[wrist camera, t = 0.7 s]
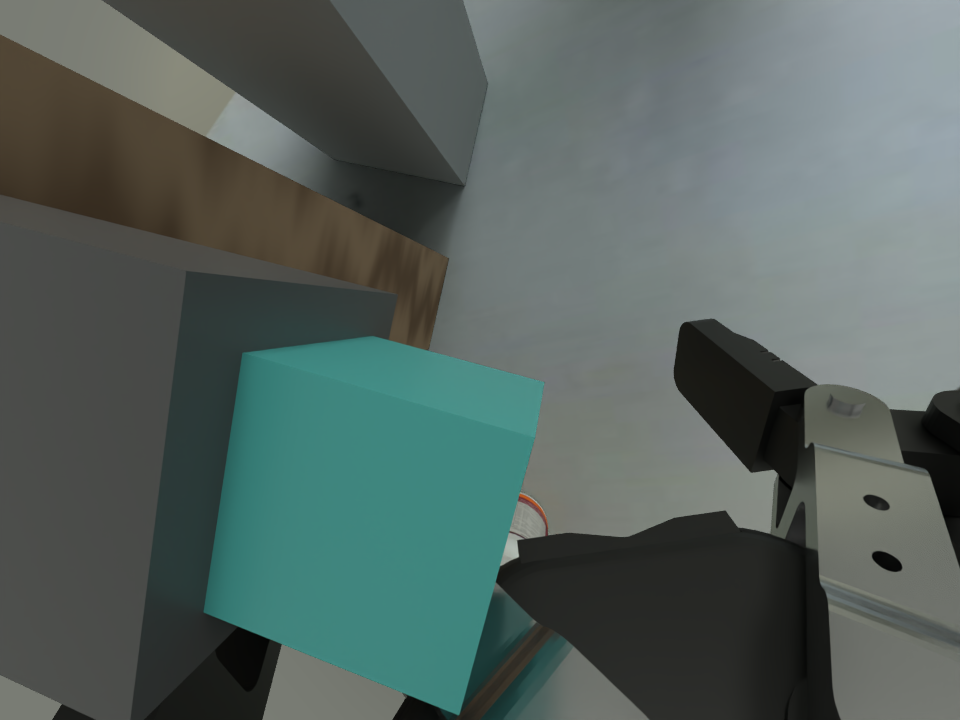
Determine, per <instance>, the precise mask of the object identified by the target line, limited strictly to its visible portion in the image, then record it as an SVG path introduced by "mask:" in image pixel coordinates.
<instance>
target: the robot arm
mask: <svg viewBox="0 0 960 720" xmlns="http://www.w3.org/2000/svg"><path fill="white" fill-rule="evenodd" d="M674 379H675V383H676V386H677V388H678V390H679V391H680V393H681V394H682V395H683V396H684V397H685V398H686V399H687V400H688V402H689V403H690V404H691V405H692V406H693V407H694V408H695V410H696V411H697V412H698V413H699V414H700V415H701V416H702V418H703V419H704V420H705V421H706V422H707V423H708V424H709V425H710V427H711V428H712V429H713V430H714V431H715V432H716V433H717V435H718V436H719V437H720V438H721V439H722V440H723V441H724V442H725V444H726V445H727V446H728V447H729V448H730V449H731V450H732V452H733V453H734V454H735V455H736V456H737V457H738V458H739V460H740V461H741V462H742V463H743V464H744V465H745V466H746V467H747V469H748V470H749V471H750V472H751V473H753V472H760V471H767V470H775V471H776V472H777V473H778V474H777V477H776V480H775V483H774V490H773V505H772V520H771V534H768V533H764V532H760V531H756V530H750V529H745V528H738V527H737V526H736V524H735V523H734V522H733V520H732V519H731V518H730V516H729V515H728V513H727V512H726V511H719V512H712V513H705V514H698V515H691V516H684V517H677V518H673V519H670V520H668V521H666V522H663V523H661V524H658V525H656V526H654V527H651V528H649V529H647V530H644V531H642V532H639V533H637V534H635V535H632V536H629V537H612V536H600V535H589V534H577V533H563V534H556V535H549V536H542V537H535V538H528V539H521V540H517V545H518V554H519V557H517V558H515V559H513V560H510V561H508V562H507V563H505V564H503V565H502V566H500V568H499V571H498V575H497V579H496V582H495V586H494V590H493V593H492V597H491V601H490V604H489V608H488V612H487V615H486V619H485V623H484V626H483V630H482V634H481V637H480V641H479V645H478V648H477V652H476V656H475V659H474V663H473V667H472V670H471V674H470V678H469V681H468V685H467V689H466V692H465V696H464V700H463V703H462V707H461V711H460V714H459V715H457V714H454V713H452V712H449V711H447V710H444V709H442V708H439V707H437V706H434V705H432V704H429V703H427V702H424V701H422V700H419V699H417V698H414V697H412V696H409V695H407V694H404V693H403V695H404V696H405V698H406V699H405V700H404V702H403V703H402V705H401V707H400V708H399V710H398V712H397V713H396V715H395V716H394V718H393V720H960V391H943V392H940V393H937V394H936V395H934V397H933V398H932V400H931V402H930V404H929V406H928V408H927V410H926V411H909V410H892V409H889V408H888V407H887V405H886V404H885V403H884V402H882V401H881V400H880V399H878V398H877V397H875V396H873V395H871V394H869V393H866V392H864V391H861V390H858V389H855V388H851V387H847V386H841V385H831V384H824V385H817V384H816V383H814V382H813V381H812V380H810V379H809V378H807V377H806V376H804V375H803V374H801V373H800V372H799V371H797V370H796V369H794V368H793V367H791V366H790V365H789V364H787V363H786V362H784V361H783V360H782V361H780V358H779V357H777V356H776V355H774V354H773V353H771V352H768V350H767V349H766V348H764V347H763V346H761V345H760V344H758V343H757V342H756V341H754V340H752V339H749V338H747V337H744V336H741V335H739V334H736V333H733V332H732V331H731V330H729V329H728V328H726V327H725V326H724V325H722V324H721V323H719V322H718V321H717V320H715V319H705V320H698V321H690V322H685V323H683V324H682V325H681V327H680V331H679V337H678V344H677V351H676V358H675V365H674ZM281 645H282V644H281V643H278V642H276V641H273V640H271V639H268V638H266V637H263V636H261V635H258V634H256V633H253V632H251V631H248V630H246V629H243V628H241V627H237V628H236V629H235V630H234V631H233V632H232V633H231V634H230V635H229V636H228V637H227V638H226V639H225V640H224V641H223V642H222V643H221V644H220V645H219V646H218V647H217V648H216V649H215V650H214V651H213V652H212V653H211V654H210V655H209V656H208V657H207V658H206V659H205V660H204V661H203V662H202V663H201V664H200V665H199V666H198V667H197V668H196V669H195V670H194V671H193V672H192V673H191V674H190V675H189V676H188V677H187V678H186V679H185V680H184V681H183V682H182V683H181V684H180V685H179V686H178V687H177V688H175V689H174V690H173V691H172V692H171V693H170V694H169V695H168V696H167V697H166V698H165V699H164V700H163V701H162V702H161V703H160V704H159V705H158V706H157V707H156V708H155V709H154V710H153V711H152V712H151V713H150V714H149V715H148V716H147V717H146V718H145V719H144V720H262V719H263V715H264V711H265V707H266V703H267V699H268V695H269V691H270V688H271V683H272V679H273V676H274V672H275V668H276V664H277V660H278V656H279V652H280V649H281ZM52 720H95V719H93V718H91V717H89V716H87V715H85V714H83V713H80V712H78V711H76V710H74V709H72V708H70V707H68V706H65V705H63V704H62V705H61V706H60V708H59V710H58V711H57V713H56V715H55V716H54V718H53V719H52Z"/></svg>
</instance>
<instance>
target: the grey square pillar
mask: <svg viewBox="0 0 960 720" xmlns="http://www.w3.org/2000/svg"><path fill="white" fill-rule="evenodd" d="M103 1H104V2H106V3H107V4H109V5H110V6H111V7H113V8H114V9H116V10H117V11H119V12H120V13H122V14H123V15H124V16H126V17H128V18H129V19H130V20H132V21H133V22H135V23H136V24H138V25H139V26H140V27H142V28H143V29H145V30H146V31H148V32H149V33H151V34H152V35H154V36H155V37H157V38H158V39H159V40H161V41H163V42H164V43H165V44H167V45H168V46H170V47H171V48H173V49H174V50H176V51H177V52H178V53H180V54H181V55H183V56H184V57H186V58H187V59H189V60H190V61H191V62H193V63H195V64H196V65H197V66H199V67H200V68H202V69H203V70H205V71H206V72H207V73H209V74H210V75H212V76H213V77H215V78H216V79H218V80H219V81H221V82H222V83H224V84H225V85H226V86H228V87H230V88H231V89H232V90H234V91H235V92H237V93H238V94H240V95H241V96H242V97H244V98H245V99H247V100H248V101H250V102H251V103H253V104H254V105H256V106H257V107H258V108H260V109H261V110H263V111H264V112H266V113H267V114H269V115H270V116H272V117H273V118H275V119H276V120H277V121H279V122H280V123H282V124H283V125H285V126H286V127H288V128H289V129H291V130H292V131H293V132H295V133H296V134H298V135H299V136H301V137H302V138H304V139H305V140H307V141H308V142H310V143H311V144H312V145H314V146H315V147H317V148H318V149H320V150H321V151H323V152H324V153H326V154H327V155H328V156H330V157H331V158H333V159H335V160H340V161H345V162H350V163H354V164H359V165H364V166H369V167H374V168H379V169H384V170H389V171H394V172H398V173H403V174H408V175H413V176H418V177H423V178H428V179H433V180H438V181H443V182H447V183H452V184H457V185H462V186H465V184H466V179H467V175H468V170H469V166H470V161H471V157H472V152H473V148H474V143H475V139H476V134H477V130H478V125H479V121H480V116H481V112H482V107H483V103H484V98H485V94H486V89H487V85H488V82H487V79H486V76H485V72H484V69H483V66H482V62H481V59H480V56H479V53H478V49H477V46H476V43H475V39H474V36H473V33H472V29H471V26H470V23H469V19H468V16H467V13H466V9H465V6H464V3H463V0H103Z"/></svg>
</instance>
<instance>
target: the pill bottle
mask: <svg viewBox="0 0 960 720" xmlns="http://www.w3.org/2000/svg"><path fill="white" fill-rule="evenodd" d="M542 536H548V523H547V518H546V515H545V512H544V510H543V509H542V507H541V506H540V505H539V504H538V502H537V501H536V500H534V499H533V498H532V497H530V496H529V495H527V494H525V493H522V492H520V494H519V498H518V502H517V505H516V509H515V513H514V516H513V520H512V524H511V527H510V531H509V535H508V538H507V542H506V546H505V549H504V553H503V557H502V560H501V564H500V566H502V565H503V564H505V563H507V562H508V561H510V560H513V559H515V558H517V557H519V554H518V545H517V540H521V539H528V538H535V537H542Z"/></svg>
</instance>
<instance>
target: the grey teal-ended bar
mask: <svg viewBox="0 0 960 720" xmlns="http://www.w3.org/2000/svg"><path fill="white" fill-rule="evenodd" d="M397 297H398V294H394V293H390V292H386V291H382V290H378V289H374V288H370V287H366V286H362V285H358V284H354V283H350V282H346V281H342V280H338V279H334V278H330V277H326V276H322V275H318V274H314V273H311V272H307V271H303V270H299V269H295V268H291V267H287V266H283V265H279V264H275V263H271V262H267V261H263V260H259V259H255V258H251V257H247V256H243V255H239V254H235V253H231V252H227V251H223V250H219V249H215V248H211V247H207V246H203V245H199V244H195V243H191V242H187V241H183V240H179V239H175V238H171V237H167V236H163V235H159V234H155V233H151V232H147V231H143V230H139V229H135V228H131V227H127V226H123V225H119V224H115V223H111V222H107V221H103V220H99V219H95V218H91V217H87V216H83V215H79V214H75V213H71V212H67V211H64V210H60V209H56V208H52V207H48V206H44V205H40V204H36V203H32V202H28V201H24V200H20V199H16V198H12V197H8V196H4V195H0V675H2V676H4V677H6V678H8V679H10V680H12V681H14V682H16V683H19V684H21V685H23V686H25V687H27V688H29V689H31V690H33V691H36V692H38V693H40V694H42V695H44V696H46V697H48V698H51V699H53V700H55V701H57V702H59V703H61V704H63V705H65V706H68V707H70V708H72V709H74V710H76V711H78V712H80V713H83V714H85V715H87V716H89V717H91V718H93V719H95V720H144V719H145V718H146V717H147V716H148V715H149V714H150V713H151V712H152V711H153V710H154V709H155V708H156V707H157V706H158V705H159V704H160V703H161V702H162V701H163V700H164V699H165V698H166V697H167V696H168V695H169V694H170V693H171V692H172V691H173V690H174V689H175V688H177V687H178V686H179V685H180V684H181V683H182V682H183V681H184V680H185V679H186V678H187V677H188V676H189V675H190V674H191V673H192V672H193V671H194V670H195V669H196V668H197V667H198V666H199V665H200V664H201V663H202V662H203V661H204V660H205V659H206V658H207V657H208V656H209V655H210V654H211V653H212V652H213V651H214V650H215V649H216V648H217V647H218V646H219V645H220V644H221V643H222V642H223V641H224V640H225V639H226V638H227V637H228V636H229V635H230V634H231V633H232V632H233V631H234V630H235V629H236V628H237V627H241V628H243V629H246V630H248V631H251V632H253V633H256V634H258V635H261V636H263V637H266V638H268V639H271V640H273V641H276V642H278V643H281V644H283V645H285V646H288V647H291V648H293V649H295V650H298V651H300V652H303V653H305V654H308V655H310V656H313V657H315V658H318V659H320V660H323V661H326V662H328V663H330V664H333V665H335V666H338V667H340V668H343V669H345V670H347V671H350V672H352V673H355V674H357V675H360V676H362V677H365V678H367V679H370V680H372V681H375V682H377V683H380V684H382V685H385V686H387V687H390V688H392V689H395V690H397V691H399V692H402V693H404V694H407V695H409V696H412V697H414V698H417V699H419V700H422V701H424V702H427V703H429V704H432V705H434V706H437V707H439V708H442V709H444V710H447V711H449V712H452V713H454V714H457V715H459V714H460V711H461V707H462V703H463V700H464V696H465V692H466V689H467V685H468V681H469V678H470V674H471V670H472V667H473V663H474V659H475V656H476V652H477V648H478V645H479V641H480V637H481V634H482V630H483V626H484V623H485V619H486V615H487V612H488V608H489V604H490V601H491V597H492V593H493V590H494V586H495V582H496V579H497V575H498V571H499V568H500V564H501V560H502V557H503V553H504V549H505V546H506V542H507V538H508V535H509V531H510V527H511V524H512V520H513V516H514V513H515V509H516V505H517V502H518V498H519V494H520V491H521V487H522V483H523V480H524V476H525V472H526V468H527V465H528V461H529V457H530V454H531V450H532V446H533V443H534V439H535V434H536V428H537V423H538V417H539V411H540V406H541V400H542V394H543V388H544V383H545V382H542V381H538V380H535V379H531V378H527V377H523V376H520V375H516V374H512V373H509V372H505V371H501V370H497V369H494V368H490V367H486V366H483V365H479V364H475V363H471V362H468V361H464V360H460V359H457V358H453V357H449V356H446V355H442V354H438V353H434V352H431V351H427V350H423V349H420V348H416V347H412V346H408V345H405V344H401V343H397V342H394V341H390V340H389V336H390V331H391V326H392V321H393V317H394V312H395V307H396V302H397Z"/></svg>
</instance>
